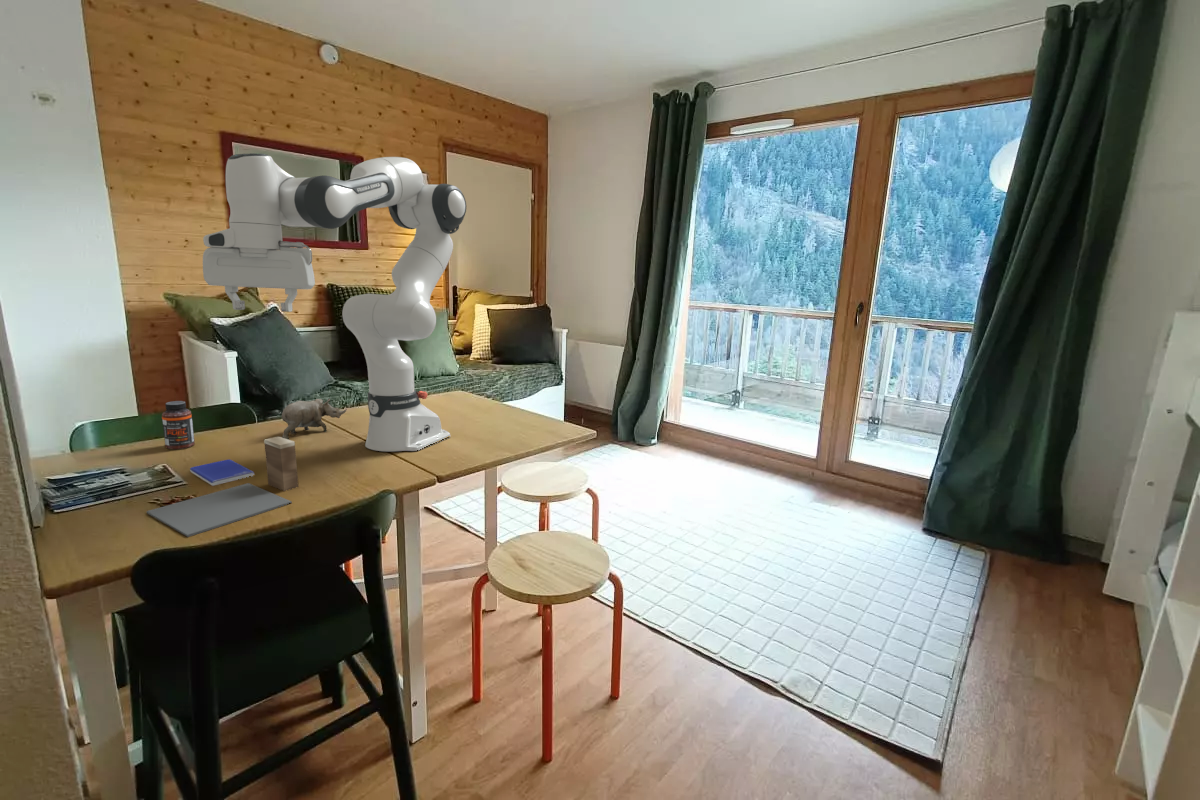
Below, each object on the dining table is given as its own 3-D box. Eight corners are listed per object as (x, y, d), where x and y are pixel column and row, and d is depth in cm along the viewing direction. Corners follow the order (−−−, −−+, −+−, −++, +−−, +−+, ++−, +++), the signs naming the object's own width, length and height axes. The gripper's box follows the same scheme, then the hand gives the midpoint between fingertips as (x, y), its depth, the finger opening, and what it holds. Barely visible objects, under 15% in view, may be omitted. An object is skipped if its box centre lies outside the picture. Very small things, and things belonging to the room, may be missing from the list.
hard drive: (254, 471, 125) (230, 458, 132) (211, 481, 118) (189, 467, 125) (254, 477, 125) (231, 465, 132) (212, 488, 118) (190, 474, 126)
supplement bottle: (166, 451, 137) (160, 406, 135) (164, 445, 142) (158, 401, 139) (196, 447, 141) (190, 403, 139) (194, 441, 145) (188, 398, 143)
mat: (248, 484, 120) (248, 482, 119) (291, 503, 111) (291, 501, 111) (146, 513, 105) (146, 511, 104) (187, 537, 96) (187, 534, 96)
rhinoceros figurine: (261, 427, 152) (294, 379, 155) (305, 446, 162) (335, 401, 165) (272, 435, 147) (306, 386, 150) (317, 455, 157) (348, 409, 160)
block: (282, 480, 123) (278, 436, 120) (298, 487, 120) (294, 441, 117) (268, 484, 120) (264, 439, 118) (284, 491, 117) (280, 445, 115)
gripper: (318, 243, 115) (322, 311, 118) (214, 238, 114) (221, 307, 117) (303, 241, 109) (308, 313, 112) (194, 236, 108) (201, 309, 111)
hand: (263, 310), depth 115 cm, fingers open, 8 cm apart
